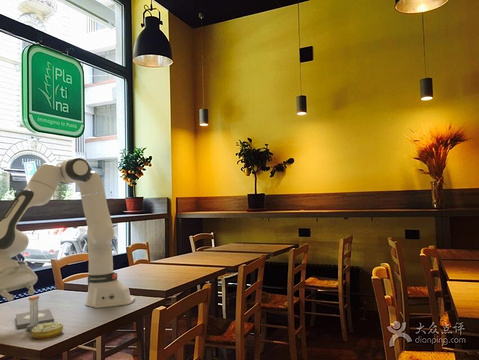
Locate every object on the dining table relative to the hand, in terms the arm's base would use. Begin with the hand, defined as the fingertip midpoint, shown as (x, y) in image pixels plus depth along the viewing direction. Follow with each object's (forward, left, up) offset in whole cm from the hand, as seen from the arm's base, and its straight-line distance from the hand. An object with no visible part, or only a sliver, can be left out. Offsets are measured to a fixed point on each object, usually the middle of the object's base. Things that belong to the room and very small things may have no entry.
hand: (22, 296), depth 151 cm
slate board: (0, -10, -12) cm, 16 cm away
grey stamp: (-5, +3, -12) cm, 14 cm away
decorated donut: (-13, +10, -13) cm, 21 cm away
